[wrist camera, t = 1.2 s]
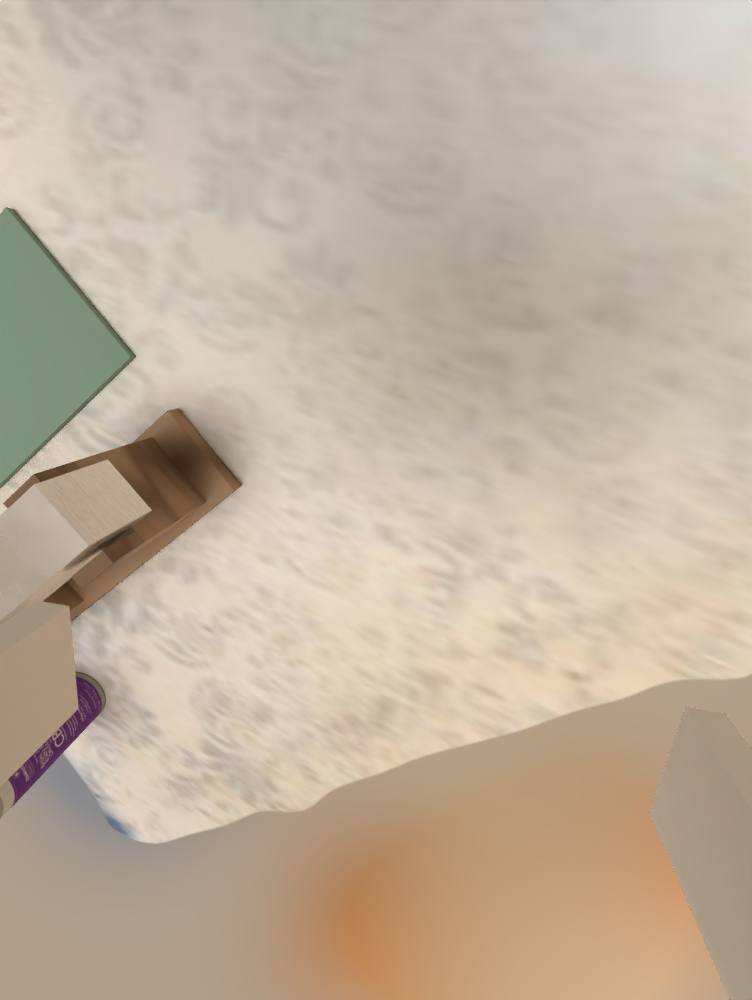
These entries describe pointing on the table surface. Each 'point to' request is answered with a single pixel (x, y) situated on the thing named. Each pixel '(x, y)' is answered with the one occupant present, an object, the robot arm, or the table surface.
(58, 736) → the container
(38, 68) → the table surface
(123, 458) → the rack
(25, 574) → the rail
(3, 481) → the mat
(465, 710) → the table surface
